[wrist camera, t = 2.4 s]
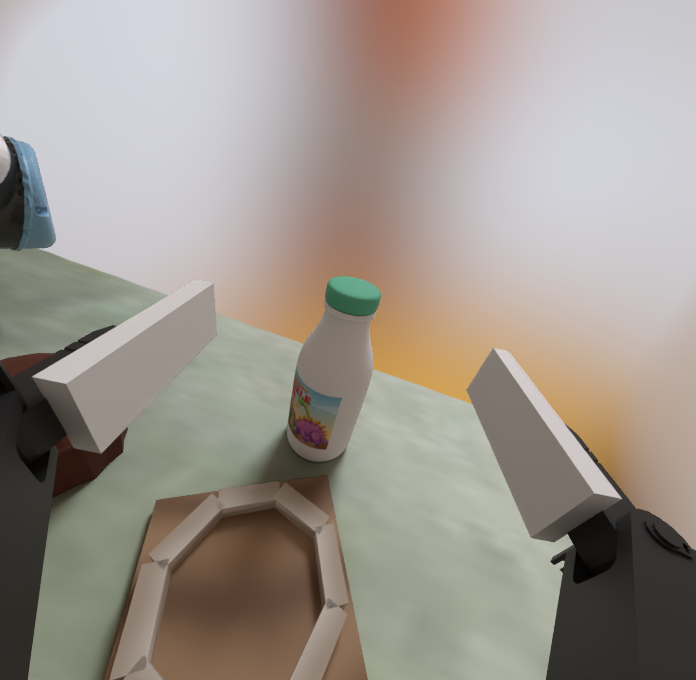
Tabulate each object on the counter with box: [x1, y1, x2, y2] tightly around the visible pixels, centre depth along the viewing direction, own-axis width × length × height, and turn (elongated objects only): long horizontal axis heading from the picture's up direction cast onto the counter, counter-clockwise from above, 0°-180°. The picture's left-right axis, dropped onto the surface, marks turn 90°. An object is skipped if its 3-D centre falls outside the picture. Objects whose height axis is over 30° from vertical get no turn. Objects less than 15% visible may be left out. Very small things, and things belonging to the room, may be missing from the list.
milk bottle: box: [287, 276, 381, 462], centre depth 27 cm, size 8×8×20 cm
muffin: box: [0, 353, 128, 498], centre depth 22 cm, size 12×11×10 cm
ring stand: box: [104, 475, 368, 680], centre depth 19 cm, size 15×15×3 cm
